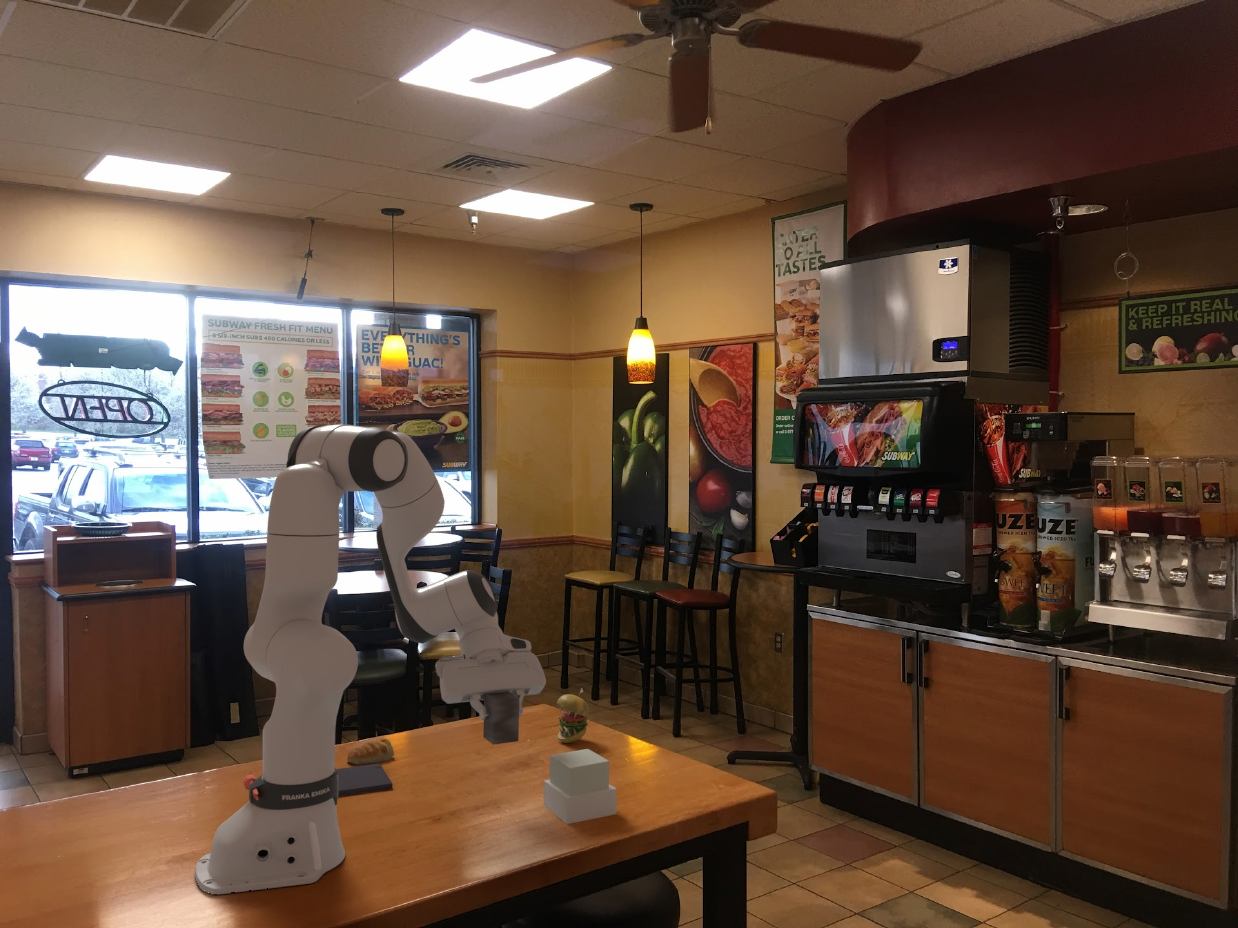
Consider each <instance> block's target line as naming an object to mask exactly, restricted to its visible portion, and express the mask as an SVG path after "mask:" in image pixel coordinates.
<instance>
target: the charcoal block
mask: <svg viewBox="0 0 1238 928" xmlns="http://www.w3.org/2000/svg"><path fill="white" fill-rule="evenodd" d="M483 706H484V707H489V709H490V713H491V717H490V719H488V720H483V739H485V740H486V741H488V742H489V743H490V744H491V745H501V744H509V743H515V742H519V738H520V737H519V730H520V729H519V728H520V727H519V726H520V716H519V698H518V697H516V696H515V695H513V694H511V693H510V692H505V693H496V694H486V695H484V700H483Z"/></svg>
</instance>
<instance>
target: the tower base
mask: <svg viewBox="0 0 1238 928" xmlns="http://www.w3.org/2000/svg"><path fill="white" fill-rule="evenodd" d="M617 792H618V791H617V788H616V787H615V786H614V785H611V784H610V783H609V788H607V789H602V790H597V791H592V792H587V793H583V794H578V795H573V796H569V795H568V794H566V793H565V792H563V791H562V790H560V789H559V788H558V787H556V786H555V785H553V784H552V783H550V778H549V779H544V780H543V807H545V808H546V809H547V810H549V811H550V812H551V813H552V814H553V815H555V816H556V817H557V818H559V819H560V820H561V821H562V822H564V823H565V824H566V825H570V824H574V823H578V822H584V821H590V820H593V819H599V818H604V817H609V816H613V815H617V801H618V800H617Z"/></svg>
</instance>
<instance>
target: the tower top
mask: <svg viewBox="0 0 1238 928" xmlns="http://www.w3.org/2000/svg"><path fill="white" fill-rule="evenodd" d="M549 779H550V783H552V784H553V785H555V786H556V787H558V788H559V789H560V790H562V791H563V792H565V793H566V794H568V795H569V796H573V795H578V794H583V793H587V792H592V791H597V790H602V789H607V788H609V784H610V761H609V760H608V759H606V758H605V757H602V756H601V755H599V754H598V753H596V752H594V751H593V750H591V749H589V748H584V749H579V750H573V751H568V752H562V753H561V752H560V753H555V754H551V755H549Z"/></svg>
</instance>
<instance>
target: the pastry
mask: <svg viewBox="0 0 1238 928" xmlns="http://www.w3.org/2000/svg"><path fill="white" fill-rule="evenodd" d="M394 756H395V751H394V748H393V746H392V743H391V741H390V740H389V739H388V738H380V739H379V740H372V741H367V742H364V743H363V744H362V745H361V746H359V747H355V748H354V749H353V750H351V751H349V752H348V755H347V758H346V761H347V762H348V763H351V764H354V765H357V766H360V765H364V764H365V765H369V764H376V763H379V762H385V761H389V760H392V759H393V757H394Z"/></svg>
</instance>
